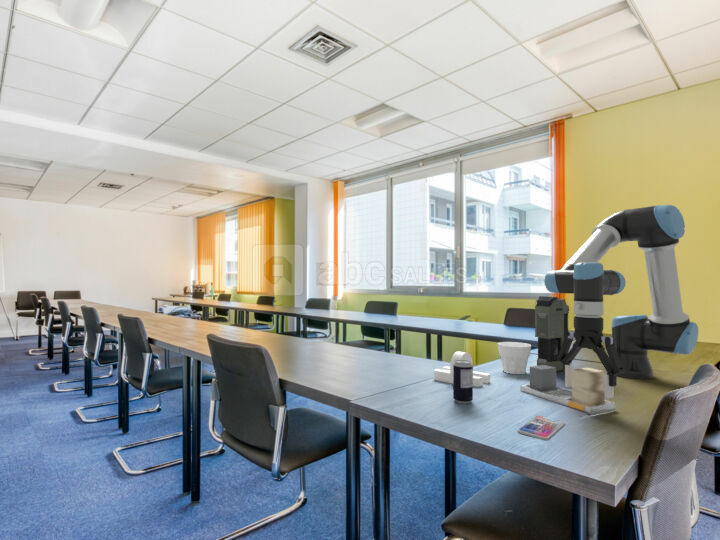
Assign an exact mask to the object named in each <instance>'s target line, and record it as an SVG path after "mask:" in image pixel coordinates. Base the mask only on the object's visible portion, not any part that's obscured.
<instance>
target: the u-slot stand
mask: <svg viewBox="0 0 720 540" xmlns="http://www.w3.org/2000/svg"><path fill="white" fill-rule="evenodd" d="M456 360H467V361H471V362H472V363H471V364H472V365H473V359H472V355H471V354H470V353H469V352H464V351H460V350H459V351H458V350H457V351H455V352H454V353H453V355H452V357H451V359H450V363H449V364H450V365H449V366H446V365H445V366H443V367H441V368H435V369H434V370H433V380H435V381H439V382H444V383H449V384H452V385H453V365H454V363H455V361H456ZM490 383H491V374H490V373H487V372H481V371H475V370H473V387H476V388H479V387H480V388H481V387H482V386H483V385H484V384H490Z"/></svg>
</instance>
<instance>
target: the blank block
mask: <svg viewBox="0 0 720 540" xmlns="http://www.w3.org/2000/svg"><path fill="white" fill-rule="evenodd" d="M529 384H530V388H532V389H536V390H539V391H548V390H555V389H556V386H557V374H556V368H555V367H551V366H547V365H539V366H537V365H533V366H529Z"/></svg>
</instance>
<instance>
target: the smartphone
mask: <svg viewBox="0 0 720 540" xmlns="http://www.w3.org/2000/svg"><path fill="white" fill-rule="evenodd" d="M565 425H566V423H565V421H563V420H558V419H557V420H554V421H552V420H550V419H547V418H545V417H544V416H543V415H535V416H534V417H532V418H531V419H530V420H528V422H525V423H524V424H523V425H521V426H520V427H519V428H517V431H516V432H517V434H521V435H524V436H528V437H532V438H536V439H538V440H539V439H540V440H541V441H542V440H544V441H549V440H550V439H552V438H553V437H554V436H555V435H556V433H558V432H559V431H560V430H561V429H562V428H563V427H565Z"/></svg>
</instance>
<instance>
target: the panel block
mask: <svg viewBox="0 0 720 540" xmlns="http://www.w3.org/2000/svg"><path fill="white" fill-rule="evenodd" d="M605 374H606V370H601V369H597V368H592V367H581V368H573V369H572V387H571V390H572V401H574V402H577V403H581V404H584V405H587V406H593V405H598V404H603V403H605V400H606V398H605Z"/></svg>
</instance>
